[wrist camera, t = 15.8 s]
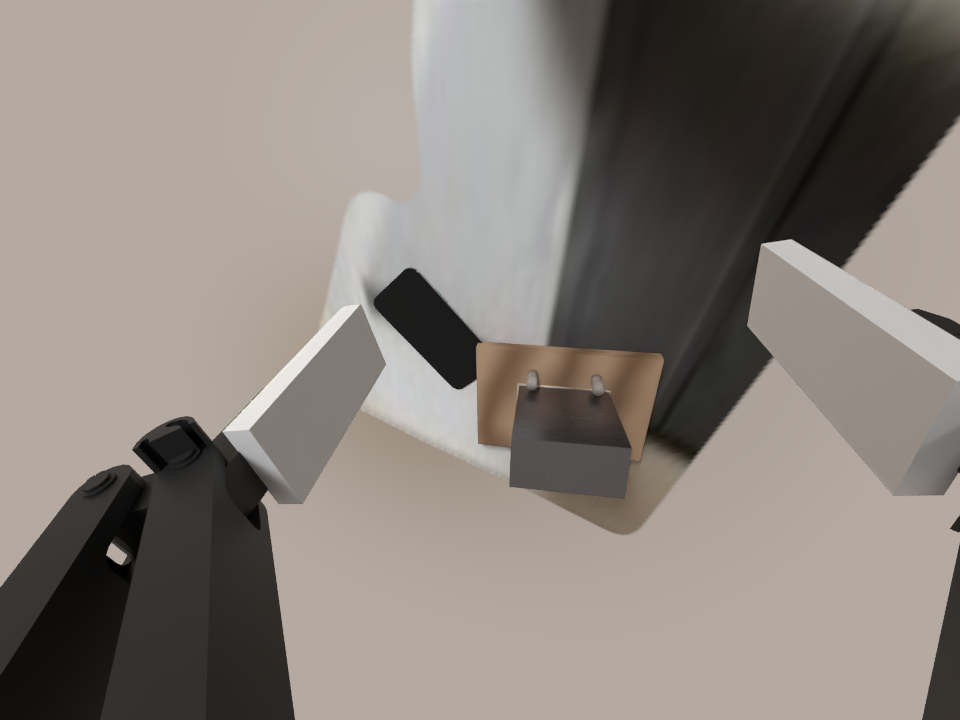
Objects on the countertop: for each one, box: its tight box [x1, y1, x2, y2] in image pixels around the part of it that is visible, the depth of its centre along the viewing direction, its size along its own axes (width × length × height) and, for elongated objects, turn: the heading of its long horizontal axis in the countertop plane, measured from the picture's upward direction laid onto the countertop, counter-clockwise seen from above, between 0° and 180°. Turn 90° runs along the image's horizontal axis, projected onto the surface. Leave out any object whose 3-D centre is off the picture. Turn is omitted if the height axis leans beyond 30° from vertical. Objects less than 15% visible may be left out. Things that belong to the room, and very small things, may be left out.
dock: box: [476, 342, 664, 461], centre depth 45 cm, size 20×14×4 cm
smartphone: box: [374, 267, 483, 389], centre depth 45 cm, size 7×1×15 cm
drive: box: [510, 385, 632, 498], centre depth 39 cm, size 10×5×12 cm, turn 91°
